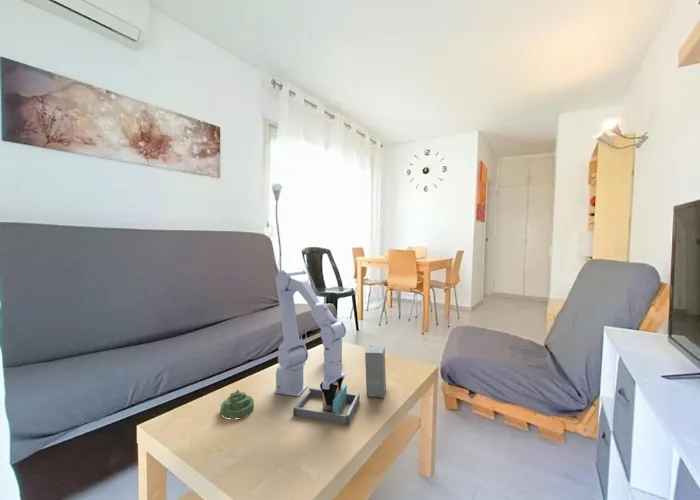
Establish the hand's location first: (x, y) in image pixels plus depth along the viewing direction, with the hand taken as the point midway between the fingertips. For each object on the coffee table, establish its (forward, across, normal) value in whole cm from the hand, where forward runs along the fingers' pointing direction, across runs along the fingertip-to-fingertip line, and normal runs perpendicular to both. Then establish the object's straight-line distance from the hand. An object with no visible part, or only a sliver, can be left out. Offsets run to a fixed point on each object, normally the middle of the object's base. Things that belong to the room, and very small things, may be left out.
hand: (332, 400), depth 103 cm
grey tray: (+3, 0, +2) cm, 3 cm away
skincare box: (+3, +15, -11) cm, 19 cm away
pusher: (+3, 0, -2) cm, 4 cm away
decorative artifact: (+3, -9, +29) cm, 31 cm away
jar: (+2, 0, +1) cm, 2 cm away
